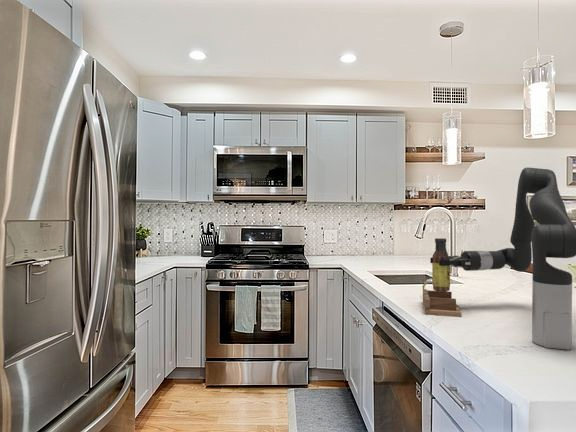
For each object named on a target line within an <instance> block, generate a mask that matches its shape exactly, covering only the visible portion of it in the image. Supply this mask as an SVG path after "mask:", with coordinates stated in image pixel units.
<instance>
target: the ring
mask: <svg viewBox="0 0 576 432" xmlns="http://www.w3.org/2000/svg"><path fill="white" fill-rule="evenodd" d="M431 283H432V284H433V278H429V279H428V278H427V279H426V280H425V281H424V283H423V285H422V290H423V289H425V287H426V286H427V285H428V284H431Z"/></svg>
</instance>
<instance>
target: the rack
mask: <svg viewBox="0 0 576 432" xmlns="http://www.w3.org/2000/svg"><path fill="white" fill-rule="evenodd" d="M452 294H453V293H452V291H445V292H444V291H435V290H428V289H427V288H424V289H423V288H422V306H423V310H424V314H425V315H430V316H441V317H442V316H444V317H458V318H459V317H460V318H462V311H461V309H460V308H459V306H458V304H457V299H456V298H452V297H453V296H452Z"/></svg>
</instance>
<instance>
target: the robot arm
mask: <svg viewBox="0 0 576 432" xmlns="http://www.w3.org/2000/svg"><path fill="white" fill-rule="evenodd" d="M527 194H532V196H531V198H530V200H529V204H528V203H527ZM515 198H516V202H515V210H514V211H515V213H514V221H513V225H512V230H511V235H510V239H509V241H510V243H511V245H512V246H513V248H512V247H506V248H502V249H499V250H489V251H487V250H465V251H462V252H461V255H456V254H455V255H448V256H449V259H450V261H449V260H439V265H440V266H449V265H450V267H453V268H462V269H463V270H464V271H467V272H468V271H469V272H472V271H487V270H500V269H503V268H504V267H505V266H506V265H507V266H508V267H509V268H511V269H512V270H514V271H516V272H519V273H523V272H525V271H527V270H528V269H529V268H530V266H531V265H532V284H531V285H532V286H531V287H532V292H531V293H532V294H531V295H532V296H531V298H532V299H531V300H532V301H531V302H532V303H531V304H532V305H531V308H532V309H531V315H532V316H531V317H532V318H531V329H532V330H531V340H532V342H533V343H534V344H536V345H539V346H541V347H543V348H547V349H558V350H572V347H573V344H572V343H573V275H572V273H571V272H569V271H566V270H563V269H561V268H558V267H555V266H554V265H552V264H550V263H549V262H548V261H547V258H552V259H570V258H571V259H572V258H574V257H576V227H575V225H574V223H573V221H572V220H571V218H570V216H569V215H568V212H567V209H566V206H565V203H564V200H563V198H562V196H561V192H560V191H559V188H558V182H557V176H556V174H555V172H554V171H553V170H552V169H547V168H538V167H524V168H523V169H522V170H521V172H520V175H519V178H518V183H517V192H516V197H515ZM528 205H529V206H528ZM535 222H536V223H538V224H536V225H535ZM429 260H430V264H432V263H433V258H432V257H430V259H429Z"/></svg>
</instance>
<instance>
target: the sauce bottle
mask: <svg viewBox="0 0 576 432" xmlns="http://www.w3.org/2000/svg"><path fill="white" fill-rule="evenodd" d="M434 244H435V249H434V250H435V251H434V252H433V255H432V257H431V258H433V263H431V264H432V266H431V268H432V274H431V275H432V280H433V283H432V289H433V290H432V291H444V292H445V291H448V292H450V289H451V266H450V265H449V266H440V265H439V260H449V261H450V259H449V256H450V255H449V253H448V250H447V237H445V238H443V237H436V238H434Z"/></svg>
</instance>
